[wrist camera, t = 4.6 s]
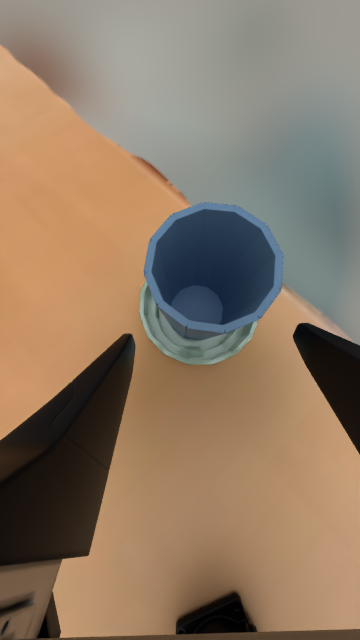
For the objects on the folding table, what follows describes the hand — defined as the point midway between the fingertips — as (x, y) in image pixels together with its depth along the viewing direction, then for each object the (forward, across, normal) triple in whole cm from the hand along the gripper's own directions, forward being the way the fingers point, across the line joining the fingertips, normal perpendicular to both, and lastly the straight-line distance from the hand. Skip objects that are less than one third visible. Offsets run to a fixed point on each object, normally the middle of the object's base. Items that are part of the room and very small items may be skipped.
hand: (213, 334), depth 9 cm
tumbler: (+9, 0, +5) cm, 10 cm away
